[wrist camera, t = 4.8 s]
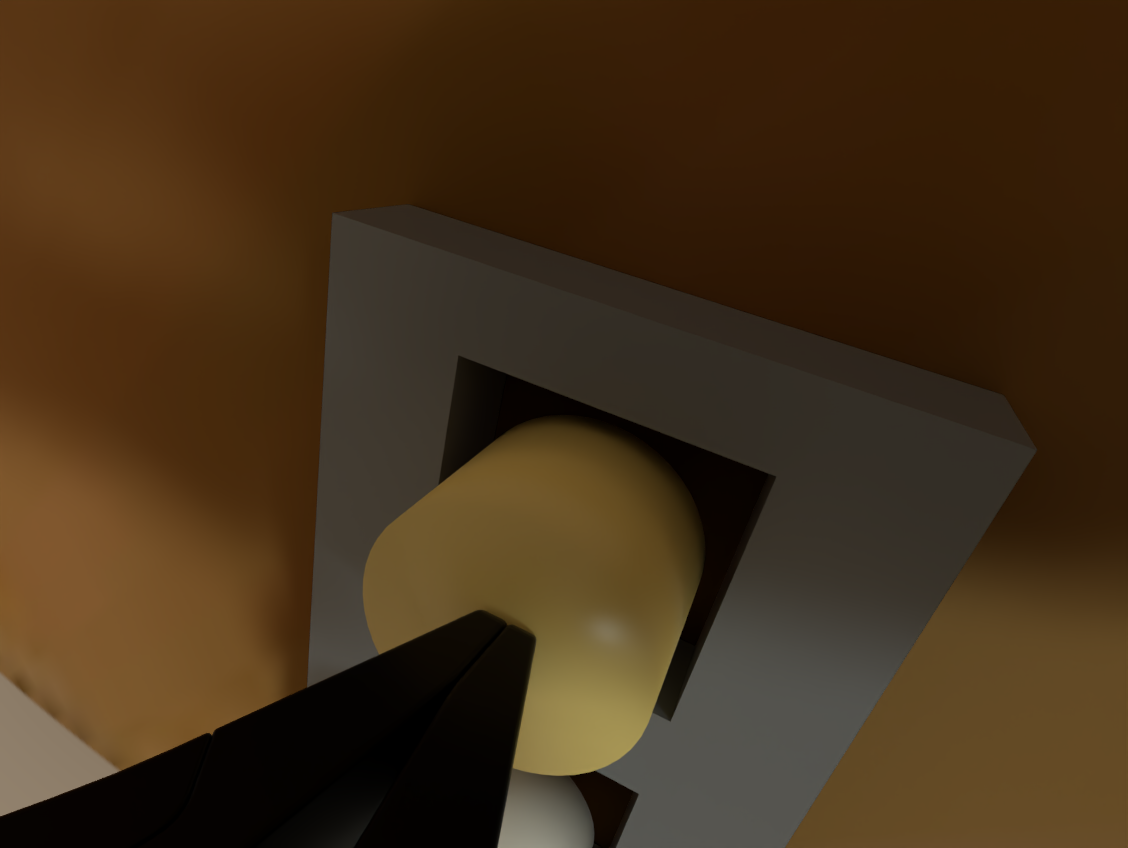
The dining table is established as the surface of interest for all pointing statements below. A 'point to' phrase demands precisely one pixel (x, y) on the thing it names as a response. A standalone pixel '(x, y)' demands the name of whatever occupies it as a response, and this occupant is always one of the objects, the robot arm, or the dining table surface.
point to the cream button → (545, 813)
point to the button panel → (694, 415)
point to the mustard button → (554, 577)
